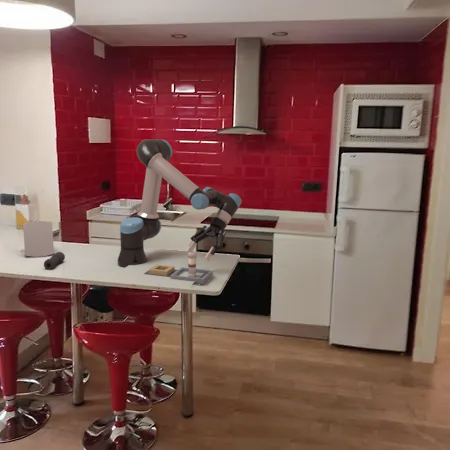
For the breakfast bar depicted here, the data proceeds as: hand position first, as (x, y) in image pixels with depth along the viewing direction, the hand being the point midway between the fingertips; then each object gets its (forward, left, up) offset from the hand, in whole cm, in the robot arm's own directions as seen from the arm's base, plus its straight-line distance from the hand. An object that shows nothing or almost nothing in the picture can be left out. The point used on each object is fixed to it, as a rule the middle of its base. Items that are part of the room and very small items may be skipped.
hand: (197, 256), depth 221 cm
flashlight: (-75, -5, -11) cm, 76 cm away
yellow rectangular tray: (-18, -1, -11) cm, 21 cm away
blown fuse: (-2, -2, -10) cm, 10 cm away
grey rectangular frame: (-2, -2, -11) cm, 11 cm away
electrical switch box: (-97, +11, -11) cm, 98 cm away
